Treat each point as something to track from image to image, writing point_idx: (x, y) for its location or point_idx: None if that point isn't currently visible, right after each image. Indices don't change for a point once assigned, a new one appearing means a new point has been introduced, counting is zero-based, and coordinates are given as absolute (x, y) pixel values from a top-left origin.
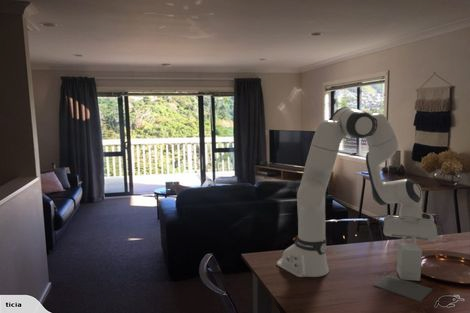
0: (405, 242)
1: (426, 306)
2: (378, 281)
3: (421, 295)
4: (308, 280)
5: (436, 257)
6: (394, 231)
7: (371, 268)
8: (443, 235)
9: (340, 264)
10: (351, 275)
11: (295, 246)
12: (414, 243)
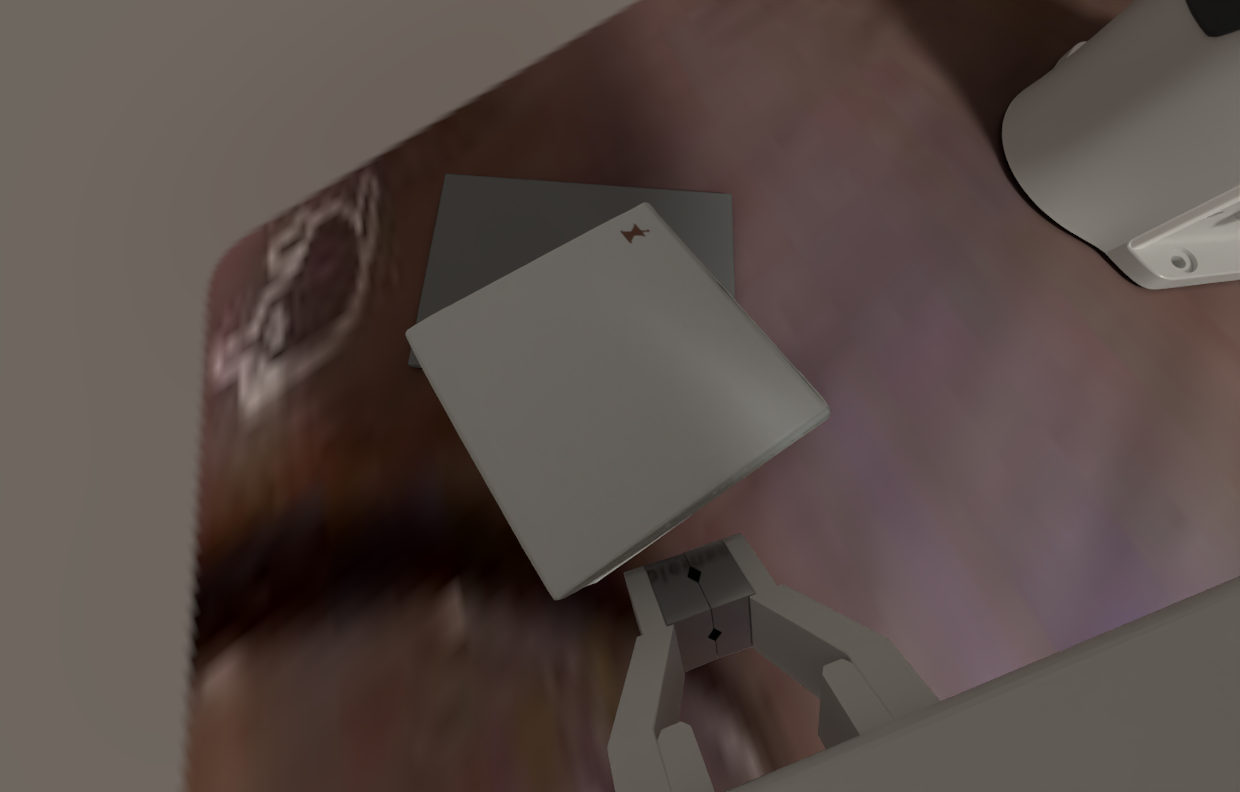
0: (765, 578)
1: (409, 156)
2: (730, 247)
3: (454, 234)
4: (1006, 58)
5: None
6: (1211, 657)
7: (882, 428)
8: None
9: (1068, 344)
10: (901, 239)
11: None
12: (588, 547)
